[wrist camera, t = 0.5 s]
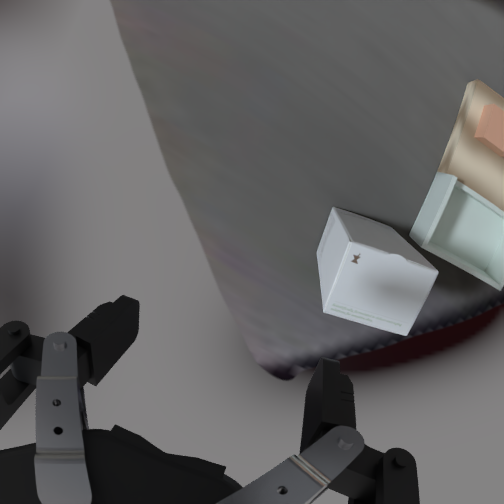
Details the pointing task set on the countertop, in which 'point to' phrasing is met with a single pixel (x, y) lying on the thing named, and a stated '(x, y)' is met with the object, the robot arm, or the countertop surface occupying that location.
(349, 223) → the skincare box
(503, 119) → the tile
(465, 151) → the board
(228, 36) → the countertop surface
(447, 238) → the box
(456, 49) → the countertop surface
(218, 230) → the countertop surface
